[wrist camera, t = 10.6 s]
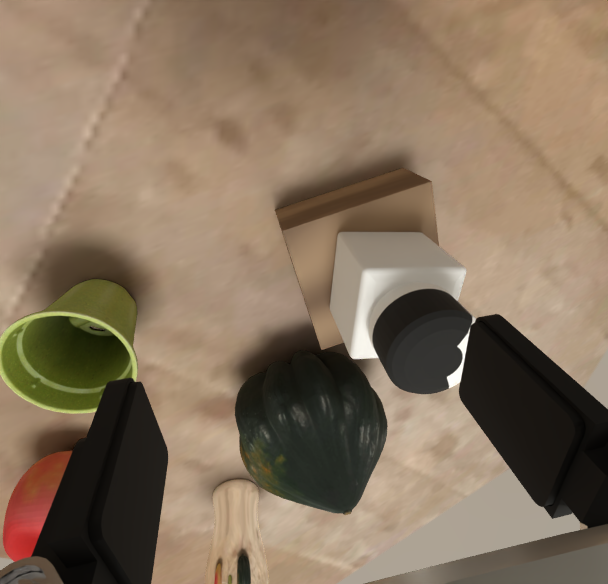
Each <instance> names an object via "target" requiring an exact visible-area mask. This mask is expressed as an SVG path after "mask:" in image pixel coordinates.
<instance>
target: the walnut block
mask: <svg viewBox="0 0 608 584" xmlns="http://www.w3.org/2000/svg"><path fill="white" fill-rule="evenodd" d="M275 212H276V215H277V218H278V221H279V224H280V227H281V230H282V233H283V236H284V239H285V242H286V245H287V248H288V251H289V254H290V257H291V260H292V263H293V266H294V269H295V272H296V275H297V279H298V282H299V285H300V288H301V291H302V294H303V297H304V300H305V303H306V306H307V309H308V312H309V315H310V318H311V321H312V324H313V327H314V330H315V332H316V335H317V338H318V341H319V344H320V347H321V350H323V349H326V348H329V347H332V346H335V345H338V344H341V343H344V341H343V339H342V336H341V334H340V332H339V329H338V327H337V325H336V322H335V320H334V318H333V316H332V313H331V311H330V300H331V291H332V282H333V272H334V263H335V254H336V245H337V236H338V234H339V233H340V232H421V233H423V234H424V235H425V236H427V237H428V238H429V239H430V240H432V241H433V242H434V243H435V244H437V245H438V246H439V242H438V233H437V224H436V215H435V206H434V197H433V188H432V181H430V180H428V179H426V178H423V177H421V176H419V175H417V174H415V173H413V172H411V171H409V170H406V169H404V168H401V169H398V170H395V171H392V172H389V173H386V174H383V175H380V176H377V177H374V178H371V179H368V180H365V181H361V182H358V183H355V184H352V185H349V186H346V187H343V188H340V189H337V190H334V191H331V192H328V193H325V194H322V195H319V196H316V197H313V198H310V199H307V200H304V201H301V202H298V203H295V204H292V205H289V206H286V207H283V208H280V209H277V210H275Z"/></svg>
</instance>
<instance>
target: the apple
mask: <svg viewBox="0 0 608 584" xmlns="http://www.w3.org/2000/svg"><path fill="white" fill-rule="evenodd" d="M71 454H72V451H62V452H57V453H53V454H50V455H48V456H46V457H44V458H42V459H41V460H39V461H38V462H36V463H35V464H34V465H33V466H32V467H31V468H30V469H29V470H28V471H27V472H26V473H25V474H24V475H23V476H22V478H21V479H20V481H19V482H18V484H17V485H16V487H15V489H14V491H13V493H12V495H11V498H10V500H9V503H8V507H7V510H6V515H5V521H4V528H3V545H4V548H5V551H6V553H7V554H8V556H9V557H10V558H11V559H12V560H13V561H14V562H16V561H18V560H21V559H23V558H27V557H31V556H32V553H33V550H34V548H35V545H36V543H37V540H38V538H39V535H40V533H41V530H42V528H43V525H44V522H45V520H46V517H47V515H48V512H49V510H50V507H51V505H52V502H53V500H54V497H55V494H56V492H57V489H58V487H59V484H60V482H61V479H62V477H63V474H64V472H65V469H66V467H67V464H68V461H69V459H70V456H71Z"/></svg>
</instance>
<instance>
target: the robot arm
mask: <svg viewBox="0 0 608 584" xmlns="http://www.w3.org/2000/svg"><path fill="white" fill-rule="evenodd" d="M459 395H460V398H461V401H462V402H463V404H464V405H465V407H466V408H467V409H468V411H469V412H470V413H471V415H472V416H473V418H474V419H475V420H476V422H477V423H478V425H479V426H480V427H481V429H482V430H483V431H484V433H485V434H486V436H487V437H488V438H489V440H490V441H491V443H492V444H493V445H494V447H495V448H496V449H497V451H498V452H499V454H500V455H501V456H502V458H503V459H504V460H505V462H506V463H507V465H508V466H509V467H510V469H511V470H512V472H513V473H514V474H515V476H516V477H517V478H518V480H519V481H520V483H521V484H522V485H523V487H524V488H525V489H526V491H527V492H528V494H529V495H530V496H531V498H532V499H533V500H534V502H535V503H536V504H537V505H539V506H541V507H544V508H545V509H546V511H547V512H548V514H549V515H550V516H551V517H552V519H553V518H557V517H561V516H564V515H569V514H572V512H573V513H574V515H575V516H576V517H577V519H578V520H579V521H580V530H579V531H574V532H570V533H565V534H561V535H557V536H553V537H549V538H545V539H541V540H537V541H533V542H529V543H525V544H520V545H517V546H512V547H508V548H504V549H500V550H496V551H492V552H488V553H484V554H480V555H476V556H472V557H468V558H464V559H460V560H456V561H452V562H448V563H444V564H440V565H436V566H432V567H428V568H424V569H420V570H416V571H412V572H408V573H405V574H400V575H396V576H392V577H388V578H384V579H381V580H377V581H373V582H369V583H365V584H608V409H607V408H606V407H604V406H603V405H602V404H601V403H600V402H599V401H598V400H596V399H595V398H594V397H593V396H592V395H591V394H590V393H589V392H587V391H586V390H585V389H584V388H583V387H582V386H581V385H579V384H578V383H577V382H576V381H575V380H574V379H573V378H571V377H570V376H569V375H568V374H567V373H566V372H565V371H564V370H562V369H561V368H560V367H559V366H558V365H557V364H556V363H554V362H553V361H552V360H551V359H550V358H549V357H548V356H546V355H545V354H544V353H543V352H542V351H541V350H540V349H538V348H537V347H536V346H535V345H534V344H533V343H532V342H531V341H529V340H528V339H527V338H526V337H525V336H524V335H523V334H521V333H520V332H519V331H518V330H517V329H516V328H515V327H513V326H512V325H511V324H510V323H509V322H508V321H507V320H505V319H504V318H503V317H502V316H500V315H498V314H495V315H489V316H483V317H479V318H477V319H476V320H475V323H473V324H472V325H471V327H470V332H469V337H468V343H467V348H466V354H465V359H464V365H463V371H462V376H461V382H460V387H459ZM167 465H168V451H167V447H166V444H165V441H164V439H163V436H162V433H161V431H160V428H159V426H158V423H157V420H156V418H155V415H154V413H153V410H152V407H151V405H150V402H149V400H148V397H147V394H146V392H145V389H144V387H143V384H142V383H141V382H135V381H134V379H133V378H125V379H119V380H114V381H109V382H108V383H107V384H106V386H105V389H104V392H103V394H102V397H101V400H100V402H99V405H98V408H97V411H96V413H95V416H94V419H93V421H92V424H91V427H90V429H89V432H88V435H87V438H83V439H80V440H79V441H78V442H77V443H76V445H75V447H74V449H73V451H72V454H71V456H70V459H69V461H68V464H67V467H66V469H65V472H64V474H63V477H62V479H61V482H60V484H59V487H58V489H57V492H56V494H55V497H54V500H53V502H52V505H51V507H50V510H49V512H48V515H47V517H46V520H45V522H44V525H43V528H42V530H41V533H40V535H39V538H38V540H37V543H36V545H35V548H34V550H33V553H32V556H31V557H27V558H23V559H21V560H18V561H16V562H13V563H11V564H9V565H8V566H6V567H5V568H3V569H2V570H0V584H151V580H152V573H153V566H154V558H155V551H156V544H157V537H158V530H159V522H160V515H161V508H162V501H163V494H164V486H165V479H166V472H167Z"/></svg>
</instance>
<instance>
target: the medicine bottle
mask: <svg viewBox="0 0 608 584" xmlns="http://www.w3.org/2000/svg"><path fill="white" fill-rule="evenodd" d="M465 275H466V268H465V267H464V266H463V265H462V264H460V263H459V262H458V261H457V260H455V259H454V258H453V257H452V256H450V255H449V254H448V253H447V252H445V251H444V250H443V249H442V248H440V247H439V246H438V245H437V244H435V243H434V242H433V241H432V240H430V239H429V238H428V237H427V236H425V235H424V234H423V233H421V232H340V233H339V234H338V236H337V245H336V254H335V263H334V272H333V282H332V291H331V300H330V311H331V313H332V316H333V318H334V320H335V322H336V325H337V327H338V329H339V332H340V334H341V336H342V339H343V341H344V343H345V346H346V348H347V350H348V353H349V355H350V357H351V358H352V359H367V358H379V359H380V361H381V363H382V365H383V367H384V369H385V370H386V372H387V374H388V376H389V378H390V379H391V381H392V382H393V383H394V384H395V385H396V386H397V387H399V388H400V389H402V390H404V391H407V392H411V393H417V394H432V393H437V392H441V391H444V390H446V389H449V388H451V387H453V386H455V385H456V384H458V383H459V382H461V376H462V371H463V365H464V359H465V354H466V348H467V343H468V337H469V332H470V327H471V325H472V324H473V323H475V320H476V318H475V317H474V316H473V315H472V314H471V313H469V312H468V311H467V310H466V309H465V308H464V307H463V306H462V305H461V304H460V303H459V302H458V299H459V295H460V292H461V288H462V285H463V281H464V278H465Z"/></svg>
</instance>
